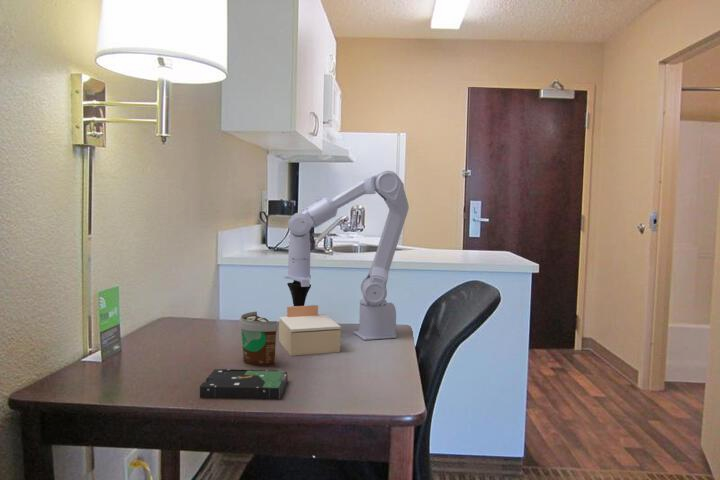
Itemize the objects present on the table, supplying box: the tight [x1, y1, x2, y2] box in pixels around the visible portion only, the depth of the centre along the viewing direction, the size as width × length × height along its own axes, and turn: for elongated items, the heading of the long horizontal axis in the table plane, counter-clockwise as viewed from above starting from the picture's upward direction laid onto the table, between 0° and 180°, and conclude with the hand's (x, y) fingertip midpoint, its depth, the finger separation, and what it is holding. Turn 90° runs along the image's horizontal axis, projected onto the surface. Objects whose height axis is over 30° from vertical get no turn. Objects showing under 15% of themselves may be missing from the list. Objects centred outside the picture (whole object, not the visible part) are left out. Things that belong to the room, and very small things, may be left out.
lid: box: [278, 304, 342, 332], centre depth 132 cm, size 12×14×3 cm
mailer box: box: [278, 319, 342, 357], centre depth 133 cm, size 12×14×5 cm
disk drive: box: [199, 368, 289, 400], centre depth 102 cm, size 10×3×15 cm
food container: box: [237, 310, 279, 367], centre depth 119 cm, size 12×6×10 cm, turn 33°
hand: (298, 309), depth 142 cm, fingers closed
